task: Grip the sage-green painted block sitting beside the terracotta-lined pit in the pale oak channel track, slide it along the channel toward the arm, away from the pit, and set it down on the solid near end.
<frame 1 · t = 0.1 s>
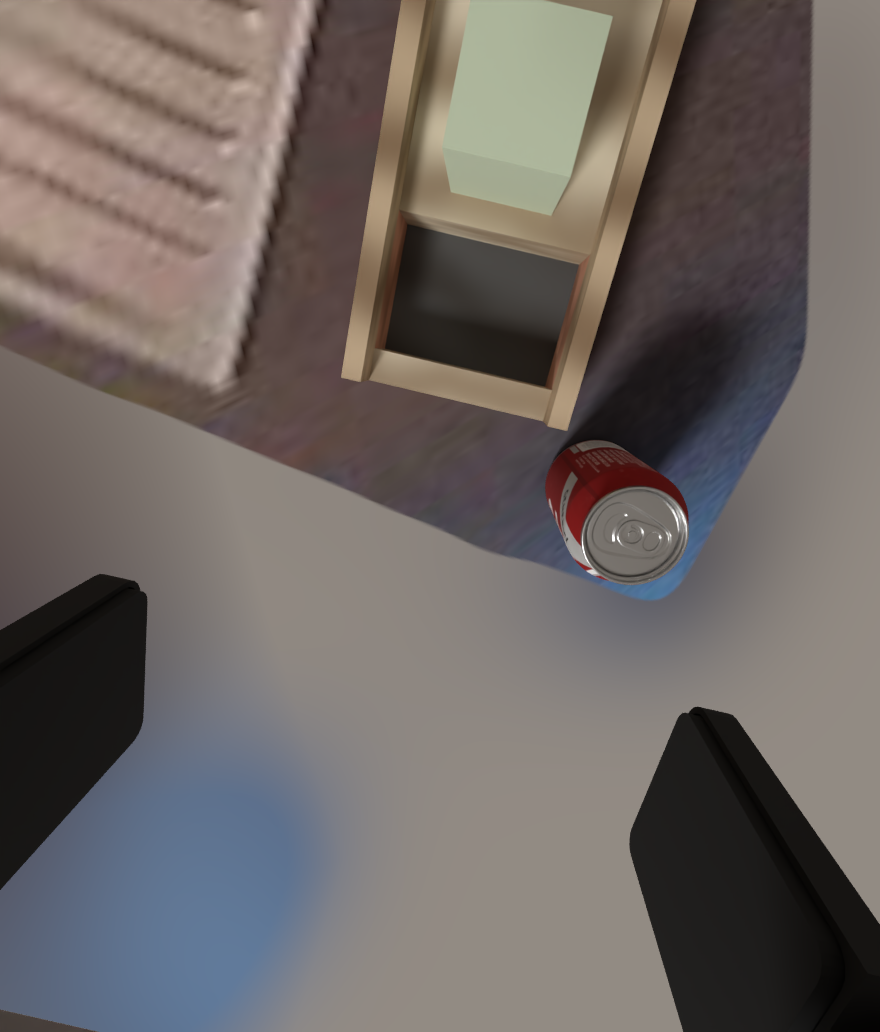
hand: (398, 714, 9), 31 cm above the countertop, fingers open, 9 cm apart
soda can: (589, 482, 39), on the countertop
channel track: (504, 194, 34), on the countertop
sage block: (514, 144, 30), point 4 cm above the countertop, touching channel track
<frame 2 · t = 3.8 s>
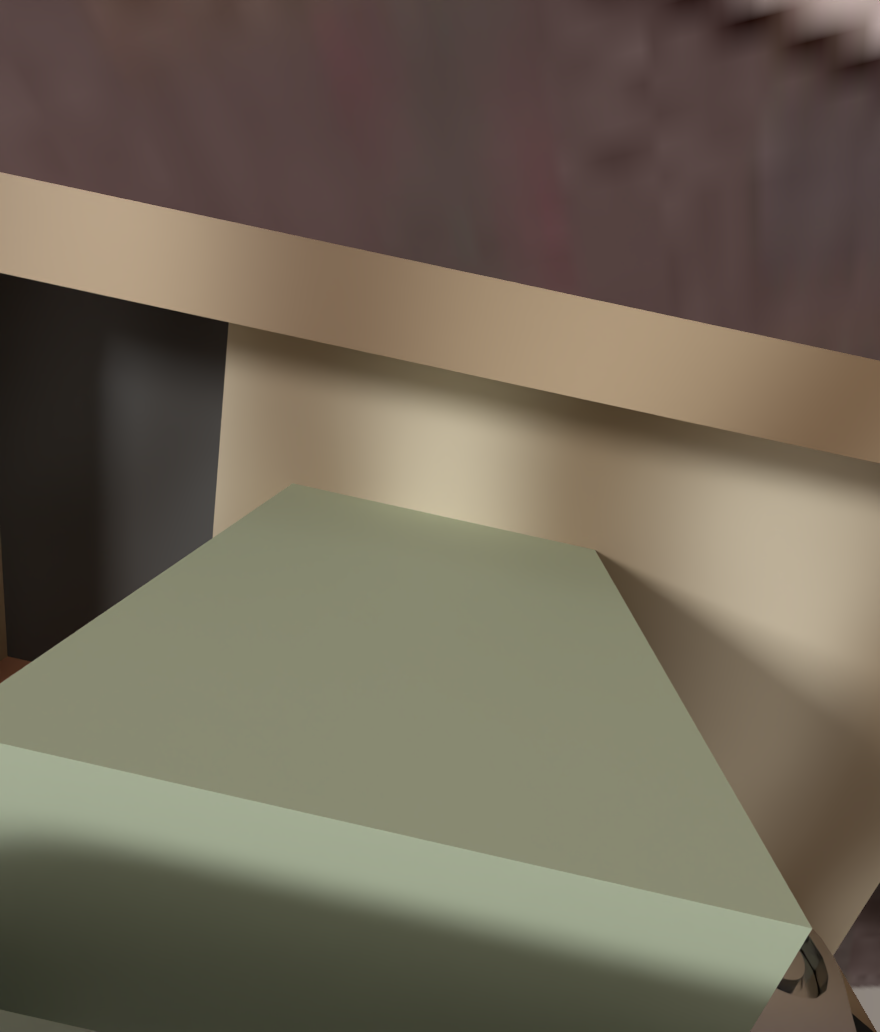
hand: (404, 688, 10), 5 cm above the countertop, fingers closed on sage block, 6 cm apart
channel track: (380, 561, 15), on the countertop
sage block: (414, 648, 11), point 4 cm above the countertop, touching channel track, gripper
when the fingers open (7 cm above the countertop, at t = 7.1 s): sage block drops 1 cm, resting on channel track.
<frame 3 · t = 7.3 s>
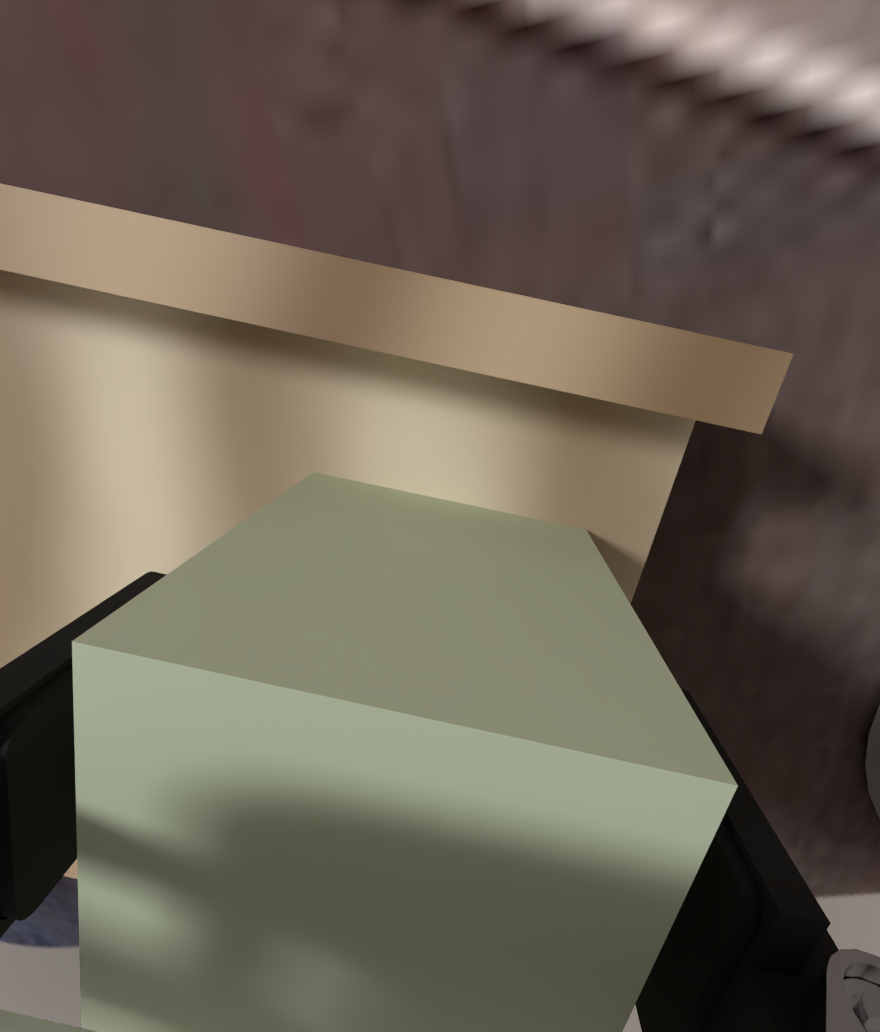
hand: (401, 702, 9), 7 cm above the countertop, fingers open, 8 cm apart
channel track: (164, 497, 16), on the countertop
sage block: (423, 621, 12), point 4 cm above the countertop, touching channel track
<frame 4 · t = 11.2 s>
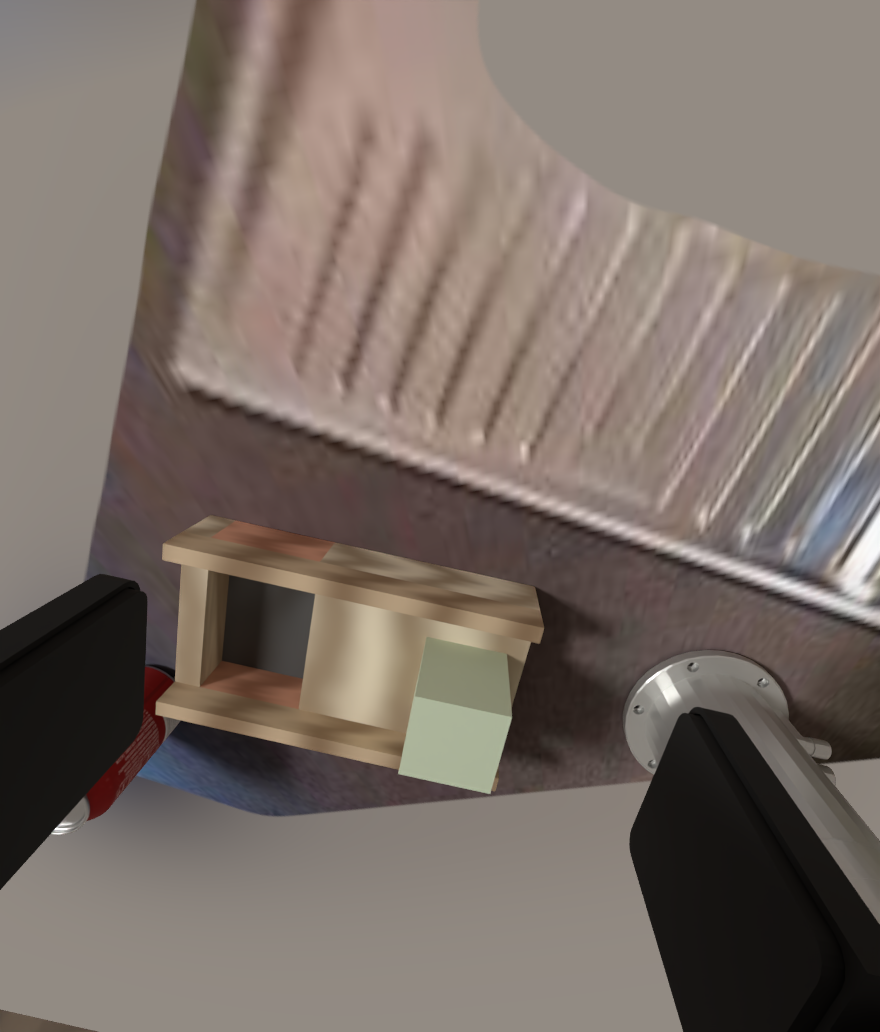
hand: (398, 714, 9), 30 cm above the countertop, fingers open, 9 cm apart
soda can: (155, 691, 47), on the countertop
channel track: (358, 628, 43), on the countertop
sage block: (458, 679, 39), point 4 cm above the countertop, touching channel track
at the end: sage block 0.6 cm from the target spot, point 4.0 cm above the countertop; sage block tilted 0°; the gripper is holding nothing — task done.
